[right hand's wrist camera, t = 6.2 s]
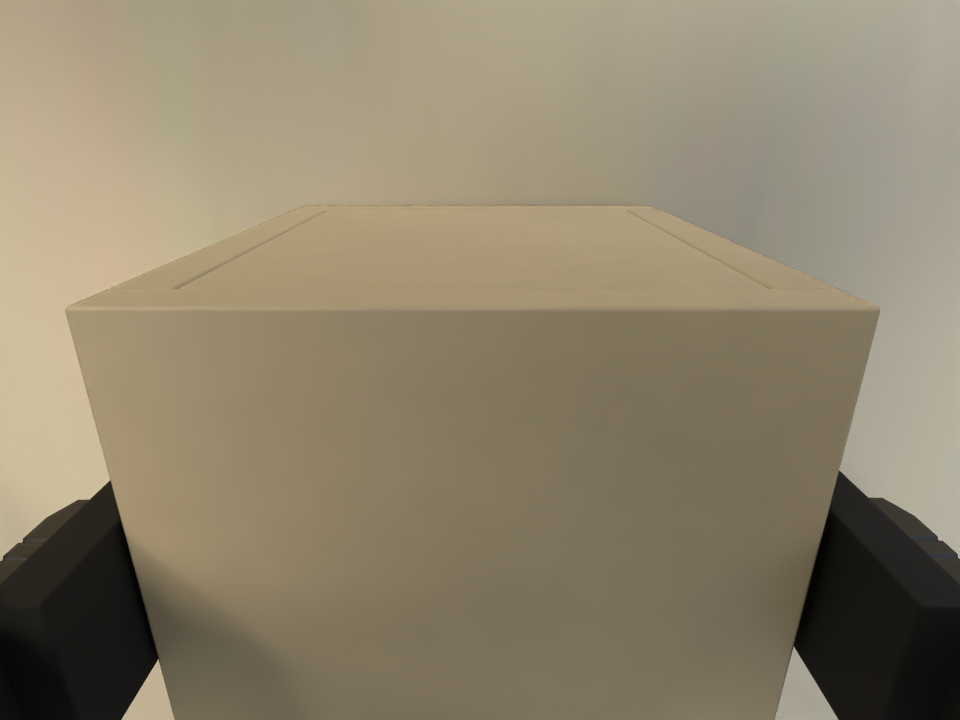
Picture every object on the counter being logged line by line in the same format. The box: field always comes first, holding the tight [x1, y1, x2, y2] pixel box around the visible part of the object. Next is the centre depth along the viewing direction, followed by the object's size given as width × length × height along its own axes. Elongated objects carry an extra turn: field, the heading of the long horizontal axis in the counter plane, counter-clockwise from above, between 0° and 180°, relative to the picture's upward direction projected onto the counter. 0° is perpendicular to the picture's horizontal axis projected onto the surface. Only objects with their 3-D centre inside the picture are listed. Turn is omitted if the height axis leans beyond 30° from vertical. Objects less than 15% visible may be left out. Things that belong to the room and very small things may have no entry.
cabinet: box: [65, 206, 880, 720], centre depth 15 cm, size 16×10×10 cm, turn 0°
